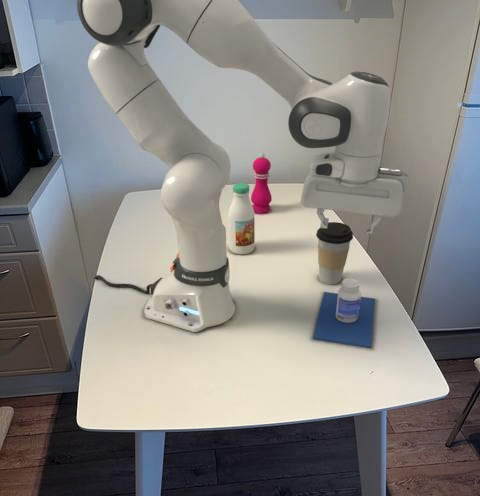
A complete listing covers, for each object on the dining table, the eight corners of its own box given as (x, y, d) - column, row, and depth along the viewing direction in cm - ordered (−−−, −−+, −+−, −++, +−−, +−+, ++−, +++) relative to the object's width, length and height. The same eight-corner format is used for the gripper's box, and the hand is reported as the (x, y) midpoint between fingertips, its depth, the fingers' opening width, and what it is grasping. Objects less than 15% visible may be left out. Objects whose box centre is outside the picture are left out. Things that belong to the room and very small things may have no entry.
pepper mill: (248, 207, 175) (248, 151, 163) (267, 205, 176) (268, 149, 165) (254, 215, 169) (255, 157, 157) (274, 213, 171) (276, 155, 159)
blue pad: (313, 339, 112) (313, 337, 112) (324, 293, 128) (324, 291, 128) (370, 348, 110) (371, 346, 109) (374, 300, 125) (375, 298, 125)
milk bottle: (226, 253, 147) (224, 189, 135) (232, 242, 153) (231, 179, 141) (251, 256, 145) (251, 191, 133) (256, 244, 151) (257, 181, 140)
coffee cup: (346, 289, 130) (353, 238, 121) (310, 285, 131) (315, 235, 122) (347, 271, 137) (354, 222, 128) (313, 268, 139) (318, 219, 130)
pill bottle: (361, 322, 117) (367, 287, 111) (339, 324, 116) (344, 290, 110) (352, 309, 121) (357, 275, 115) (331, 312, 120) (335, 278, 114)
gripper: (411, 165, 96) (396, 229, 104) (307, 155, 100) (301, 218, 108) (411, 176, 91) (396, 243, 99) (302, 165, 95) (296, 230, 103)
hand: (346, 230), depth 104 cm, fingers open, 8 cm apart
